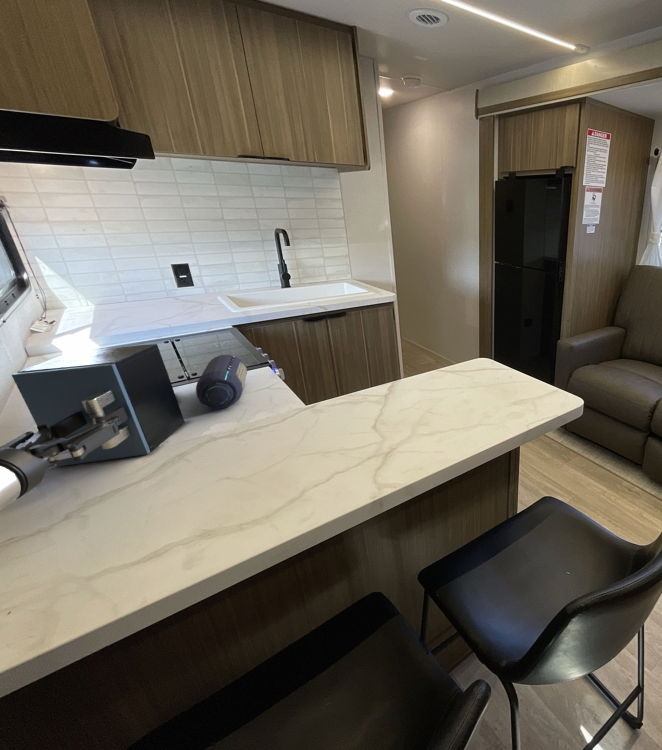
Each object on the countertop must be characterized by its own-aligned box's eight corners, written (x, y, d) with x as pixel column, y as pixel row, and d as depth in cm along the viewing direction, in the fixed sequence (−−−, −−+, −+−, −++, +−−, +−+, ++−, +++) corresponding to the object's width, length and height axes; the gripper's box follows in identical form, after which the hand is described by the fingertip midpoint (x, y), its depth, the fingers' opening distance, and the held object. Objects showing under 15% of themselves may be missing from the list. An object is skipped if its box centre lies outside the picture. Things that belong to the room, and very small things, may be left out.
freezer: (151, 451, 85) (115, 362, 78) (62, 463, 82) (16, 371, 75) (185, 422, 97) (157, 343, 91) (109, 432, 95) (74, 351, 88)
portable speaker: (245, 408, 104) (235, 372, 101) (199, 417, 100) (187, 380, 97) (251, 379, 125) (243, 348, 122) (214, 386, 121) (204, 354, 118)
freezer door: (130, 468, 78) (90, 374, 71) (33, 482, 75) (-19, 385, 68) (150, 451, 84) (115, 363, 78) (61, 463, 81) (16, 373, 75)
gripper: (-78, 516, 57) (53, 439, 78) (80, 492, 61) (165, 425, 82) (-108, 471, 55) (36, 404, 76) (59, 449, 58) (152, 391, 79)
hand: (103, 415), depth 79 cm, fingers closed on freezer door, 6 cm apart
